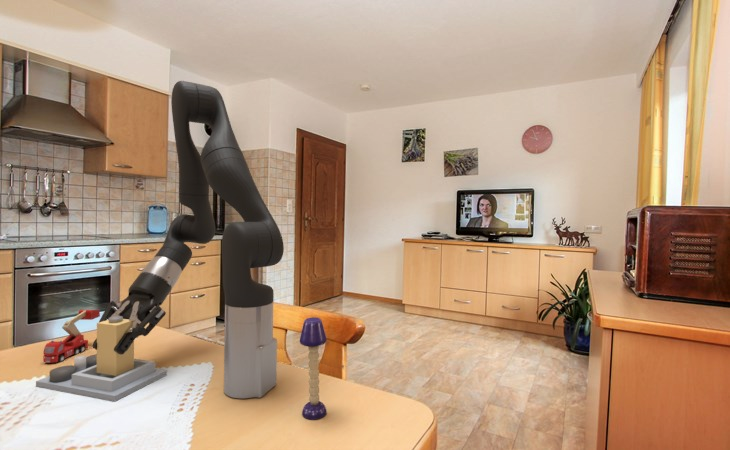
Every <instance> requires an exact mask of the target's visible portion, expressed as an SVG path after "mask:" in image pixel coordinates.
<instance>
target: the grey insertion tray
mask: <svg viewBox="0 0 730 450" xmlns="http://www.w3.org/2000/svg"><path fill="white" fill-rule="evenodd" d="M167 372H168V371H167V370H166V369H160V368H156V361H154V360H145V359H140V358H134V368H133V369H131V370H128V371H126V372H124V373H122V374H119V375H117V376H114V375H108V374H102V373H97V353H96V354H91V355H88V356H86V355H78V356H75V357H74V358H73V365H63V366H58V367H55V368H52V369H51V370H49V376H47V377H44V378H41V379H38V380H35V386H36V387H39V388H44V389H49V390H55V391H59V392H64V393H68V394H69V393H70V394H74V395H79V396H85V397H90V398H94V399H100V400H105V401H111V402H116V401H119V400H121V399H123V398H125V397H126V396H128V395H131V394H133V393H134V392H137V391H138V390H140V389H142V388H144V387H146V386H149V385H150V384H152V383H154V382H156V381H158V380H159V379H162V378H164V377H166V376H167V375H168V373H167Z"/></svg>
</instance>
